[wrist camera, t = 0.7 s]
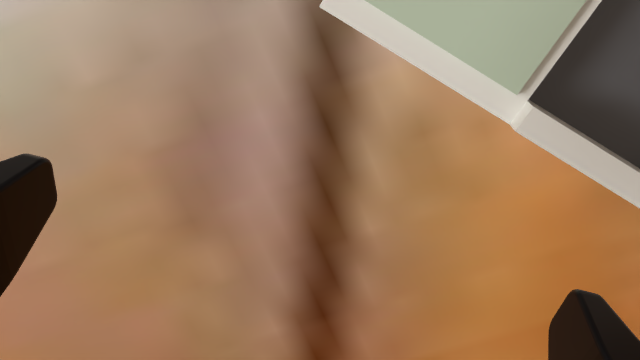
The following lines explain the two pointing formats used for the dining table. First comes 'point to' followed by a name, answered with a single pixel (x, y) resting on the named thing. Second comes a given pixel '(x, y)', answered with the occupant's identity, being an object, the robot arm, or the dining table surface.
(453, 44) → the box
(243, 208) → the dining table surface
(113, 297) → the dining table surface
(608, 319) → the robot arm
